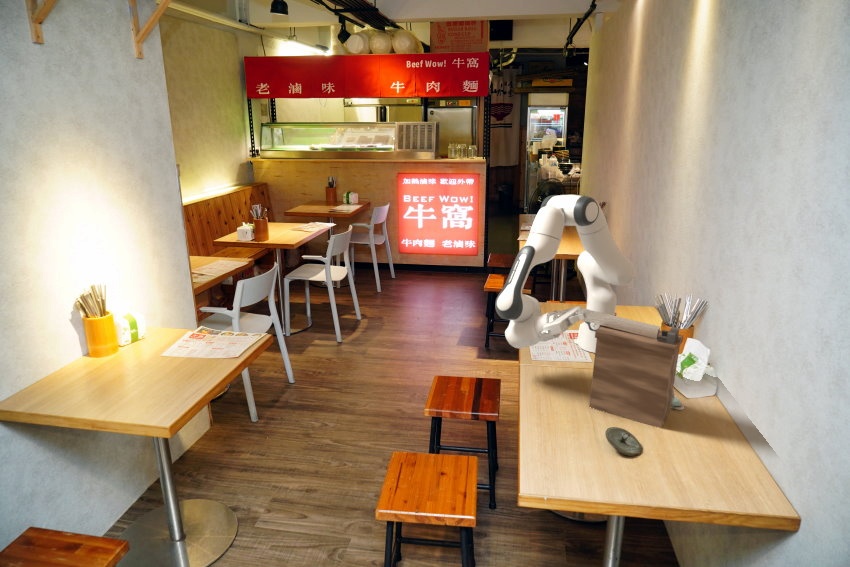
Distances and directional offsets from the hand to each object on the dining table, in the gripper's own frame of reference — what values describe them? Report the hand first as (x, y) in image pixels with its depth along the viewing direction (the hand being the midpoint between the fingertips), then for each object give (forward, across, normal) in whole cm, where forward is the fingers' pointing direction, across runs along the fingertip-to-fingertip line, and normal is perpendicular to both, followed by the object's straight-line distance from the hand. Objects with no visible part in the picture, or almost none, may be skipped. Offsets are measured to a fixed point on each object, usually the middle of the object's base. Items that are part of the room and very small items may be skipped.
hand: (586, 313), depth 185 cm
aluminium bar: (+7, 0, +7) cm, 10 cm away
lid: (+4, -24, +36) cm, 43 cm away
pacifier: (+10, +12, +39) cm, 42 cm away
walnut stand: (0, 0, +33) cm, 33 cm away
